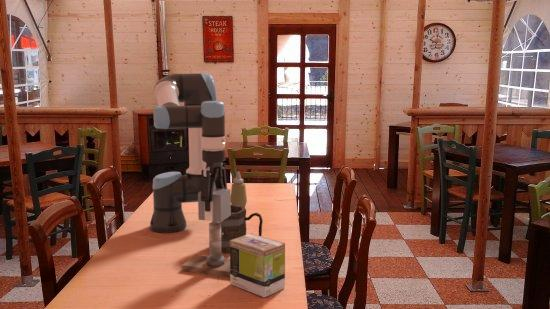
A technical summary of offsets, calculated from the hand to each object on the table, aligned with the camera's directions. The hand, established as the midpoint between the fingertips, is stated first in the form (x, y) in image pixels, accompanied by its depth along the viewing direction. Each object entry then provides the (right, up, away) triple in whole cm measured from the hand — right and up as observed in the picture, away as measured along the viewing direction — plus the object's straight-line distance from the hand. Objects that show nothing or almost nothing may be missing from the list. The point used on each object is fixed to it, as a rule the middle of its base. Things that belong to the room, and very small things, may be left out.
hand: (214, 216), depth 165 cm
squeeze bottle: (+2, -6, +76) cm, 76 cm away
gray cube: (0, 0, 0) cm, 0 cm away
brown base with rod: (0, -18, +3) cm, 18 cm away
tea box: (+14, -21, -10) cm, 27 cm away
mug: (+6, -15, +23) cm, 28 cm away
